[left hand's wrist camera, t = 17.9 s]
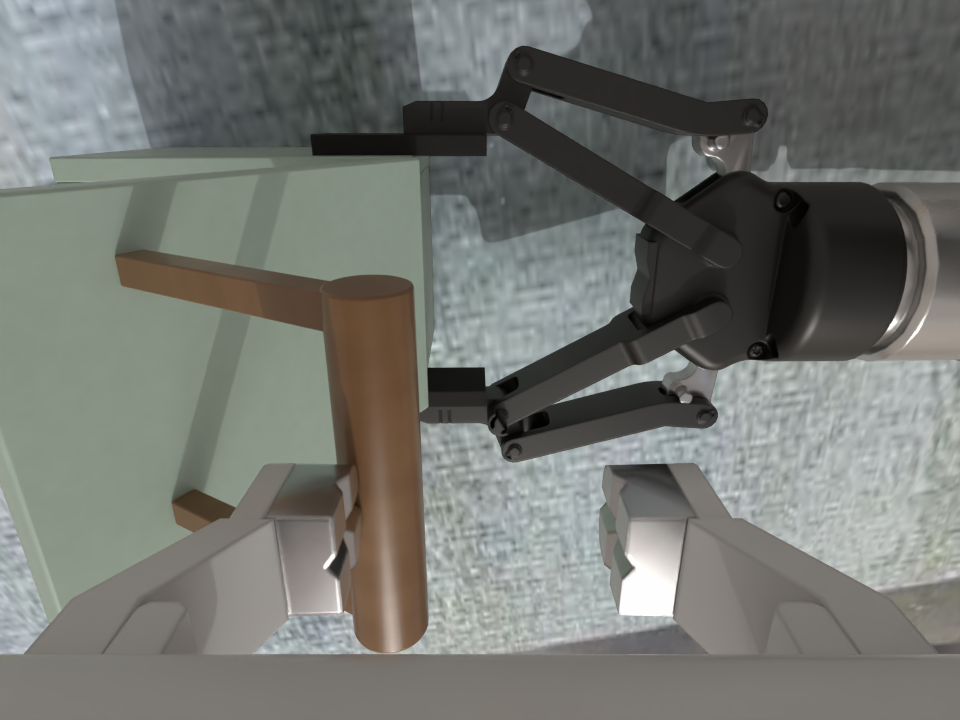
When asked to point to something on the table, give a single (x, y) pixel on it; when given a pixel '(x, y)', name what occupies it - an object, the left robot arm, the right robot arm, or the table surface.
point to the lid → (214, 366)
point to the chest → (230, 160)
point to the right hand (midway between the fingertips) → (332, 275)
